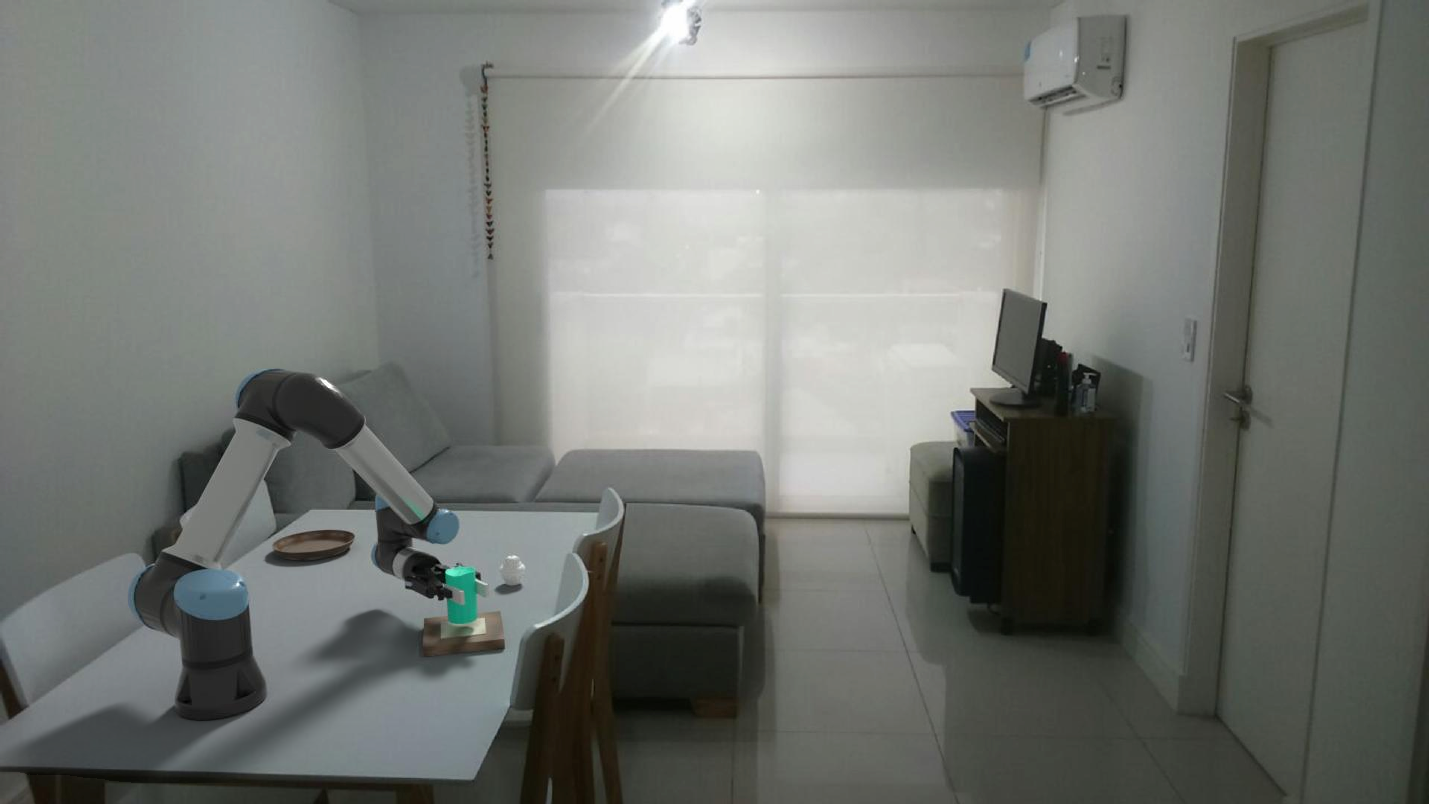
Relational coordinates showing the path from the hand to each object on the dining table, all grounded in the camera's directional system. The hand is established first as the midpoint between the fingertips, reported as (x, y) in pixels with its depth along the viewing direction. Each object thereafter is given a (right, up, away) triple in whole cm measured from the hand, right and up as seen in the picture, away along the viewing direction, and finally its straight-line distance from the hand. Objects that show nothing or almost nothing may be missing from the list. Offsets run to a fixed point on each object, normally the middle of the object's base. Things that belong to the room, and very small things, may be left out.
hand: (474, 594), depth 215 cm
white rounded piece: (+1, -4, +38) cm, 38 cm away
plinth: (-4, -10, +6) cm, 12 cm away
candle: (-4, -6, +5) cm, 9 cm away
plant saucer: (-57, -1, +65) cm, 86 cm away
